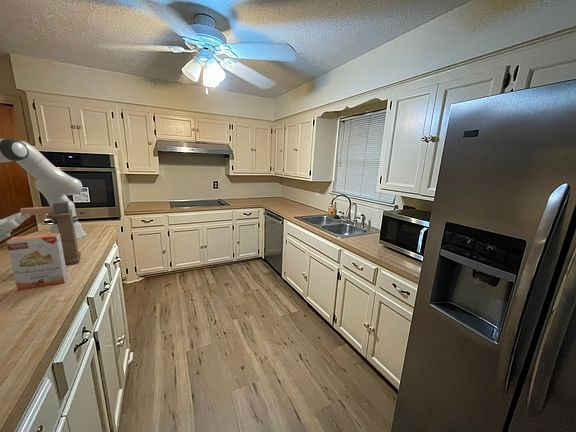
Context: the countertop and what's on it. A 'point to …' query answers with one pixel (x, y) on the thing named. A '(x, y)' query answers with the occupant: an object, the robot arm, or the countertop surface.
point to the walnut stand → (67, 237)
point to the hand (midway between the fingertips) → (32, 212)
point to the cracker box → (37, 260)
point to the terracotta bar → (48, 209)
